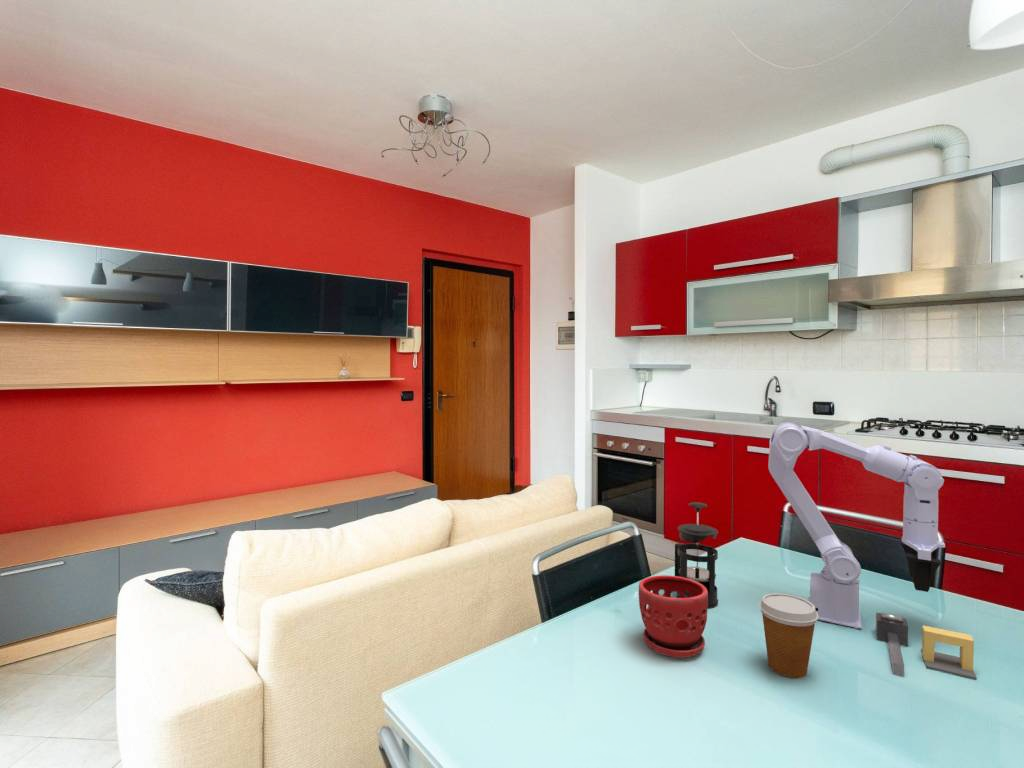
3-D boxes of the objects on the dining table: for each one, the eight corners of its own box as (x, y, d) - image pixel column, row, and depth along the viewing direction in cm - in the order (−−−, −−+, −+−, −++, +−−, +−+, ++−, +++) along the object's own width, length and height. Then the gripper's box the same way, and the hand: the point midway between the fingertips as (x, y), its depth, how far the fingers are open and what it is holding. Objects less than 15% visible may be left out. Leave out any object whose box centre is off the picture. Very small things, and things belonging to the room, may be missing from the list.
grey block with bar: (881, 670, 95) (881, 644, 95) (875, 631, 109) (876, 608, 109) (916, 679, 92) (916, 652, 92) (905, 637, 107) (906, 614, 106)
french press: (729, 604, 122) (730, 506, 121) (700, 613, 117) (701, 511, 117) (690, 586, 132) (691, 495, 131) (662, 593, 128) (663, 499, 127)
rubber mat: (926, 668, 96) (926, 665, 96) (921, 650, 102) (921, 648, 102) (976, 679, 92) (976, 677, 92) (968, 661, 98) (968, 659, 98)
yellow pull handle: (923, 659, 98) (924, 630, 98) (922, 653, 100) (922, 625, 100) (973, 671, 94) (973, 641, 94) (970, 664, 96) (970, 635, 96)
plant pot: (718, 644, 104) (719, 584, 104) (689, 672, 94) (690, 606, 94) (657, 622, 113) (658, 567, 113) (625, 646, 103) (626, 585, 103)
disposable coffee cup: (795, 689, 89) (796, 619, 89) (747, 661, 98) (748, 598, 97) (829, 674, 94) (830, 608, 93) (780, 649, 102) (781, 588, 102)
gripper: (951, 531, 101) (950, 601, 101) (939, 513, 113) (938, 576, 113) (905, 525, 104) (904, 593, 105) (898, 509, 117) (897, 569, 117)
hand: (919, 583), depth 109 cm, fingers open, 7 cm apart
